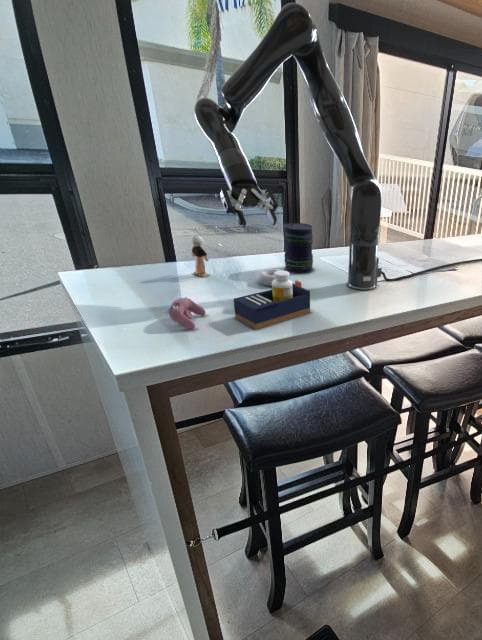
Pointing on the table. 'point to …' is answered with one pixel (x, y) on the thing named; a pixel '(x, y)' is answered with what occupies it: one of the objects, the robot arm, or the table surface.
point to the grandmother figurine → (199, 256)
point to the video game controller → (185, 312)
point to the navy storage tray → (271, 307)
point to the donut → (266, 276)
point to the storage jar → (298, 247)
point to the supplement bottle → (282, 286)
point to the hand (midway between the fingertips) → (259, 224)
